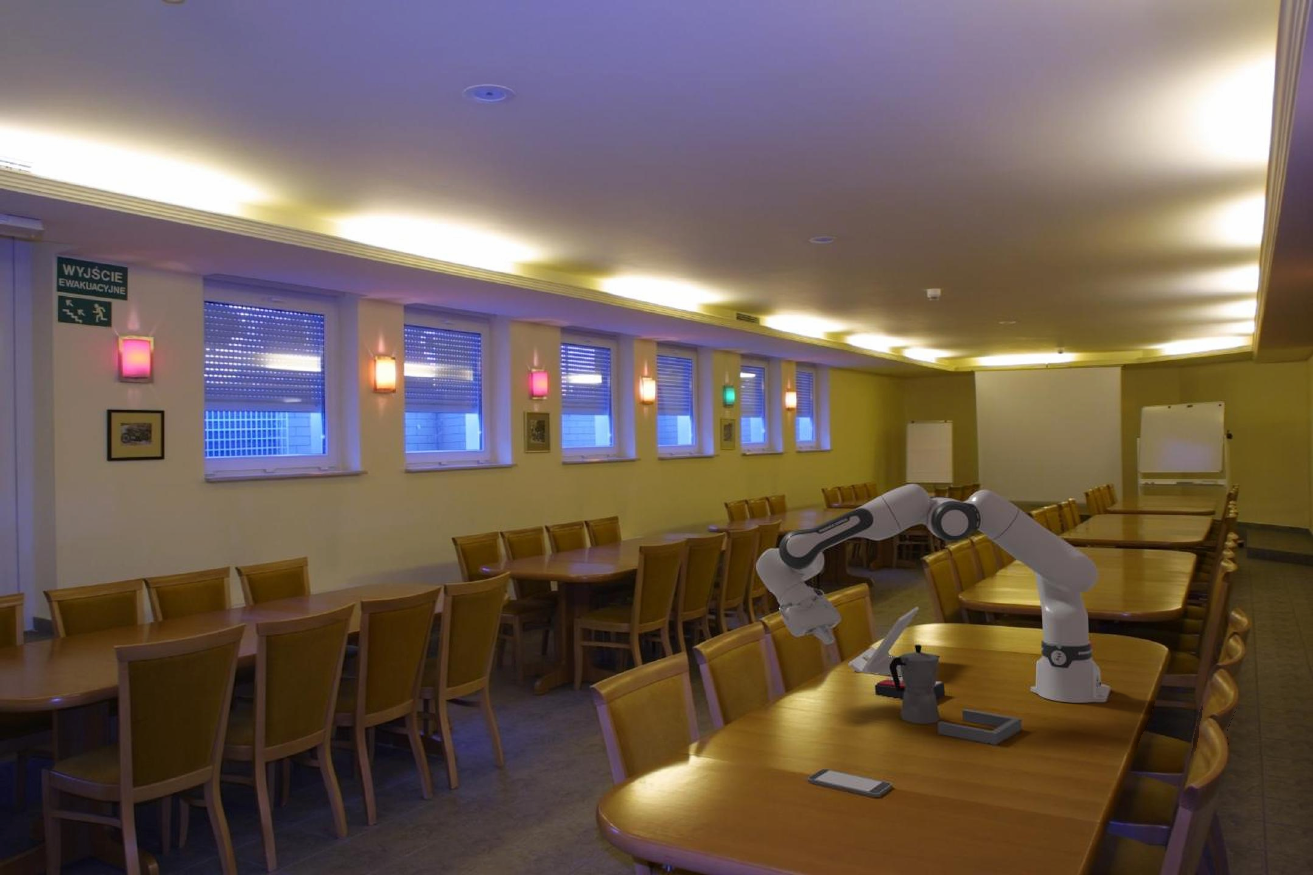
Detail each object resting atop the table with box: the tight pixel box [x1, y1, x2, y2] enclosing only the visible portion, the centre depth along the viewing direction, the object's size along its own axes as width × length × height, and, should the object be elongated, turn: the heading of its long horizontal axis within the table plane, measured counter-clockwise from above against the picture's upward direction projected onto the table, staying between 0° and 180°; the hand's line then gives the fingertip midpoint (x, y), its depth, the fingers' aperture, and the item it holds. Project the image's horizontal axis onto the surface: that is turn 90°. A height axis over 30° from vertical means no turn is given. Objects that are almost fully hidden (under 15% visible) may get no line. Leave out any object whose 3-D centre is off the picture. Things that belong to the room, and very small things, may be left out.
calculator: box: [874, 676, 946, 701], centre depth 243 cm, size 11×4×15 cm
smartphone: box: [807, 768, 893, 798], centre depth 176 cm, size 7×1×15 cm
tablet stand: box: [848, 606, 920, 676], centre depth 277 cm, size 18×25×17 cm
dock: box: [937, 708, 1023, 746], centre depth 209 cm, size 15×14×2 cm
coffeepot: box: [889, 644, 941, 725], centre depth 220 cm, size 15×9×18 cm, turn 116°
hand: (830, 642), depth 236 cm, fingers closed
